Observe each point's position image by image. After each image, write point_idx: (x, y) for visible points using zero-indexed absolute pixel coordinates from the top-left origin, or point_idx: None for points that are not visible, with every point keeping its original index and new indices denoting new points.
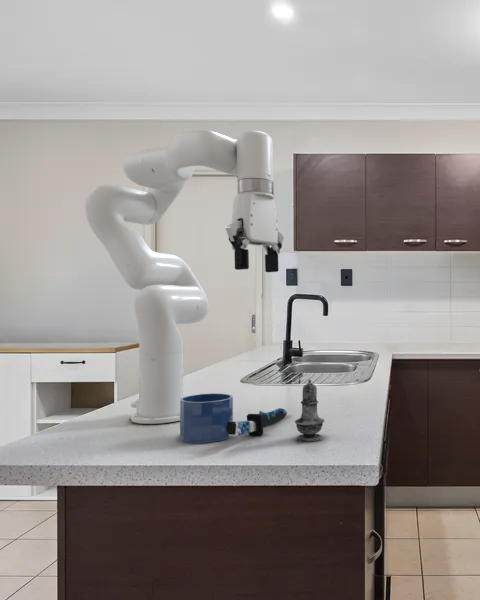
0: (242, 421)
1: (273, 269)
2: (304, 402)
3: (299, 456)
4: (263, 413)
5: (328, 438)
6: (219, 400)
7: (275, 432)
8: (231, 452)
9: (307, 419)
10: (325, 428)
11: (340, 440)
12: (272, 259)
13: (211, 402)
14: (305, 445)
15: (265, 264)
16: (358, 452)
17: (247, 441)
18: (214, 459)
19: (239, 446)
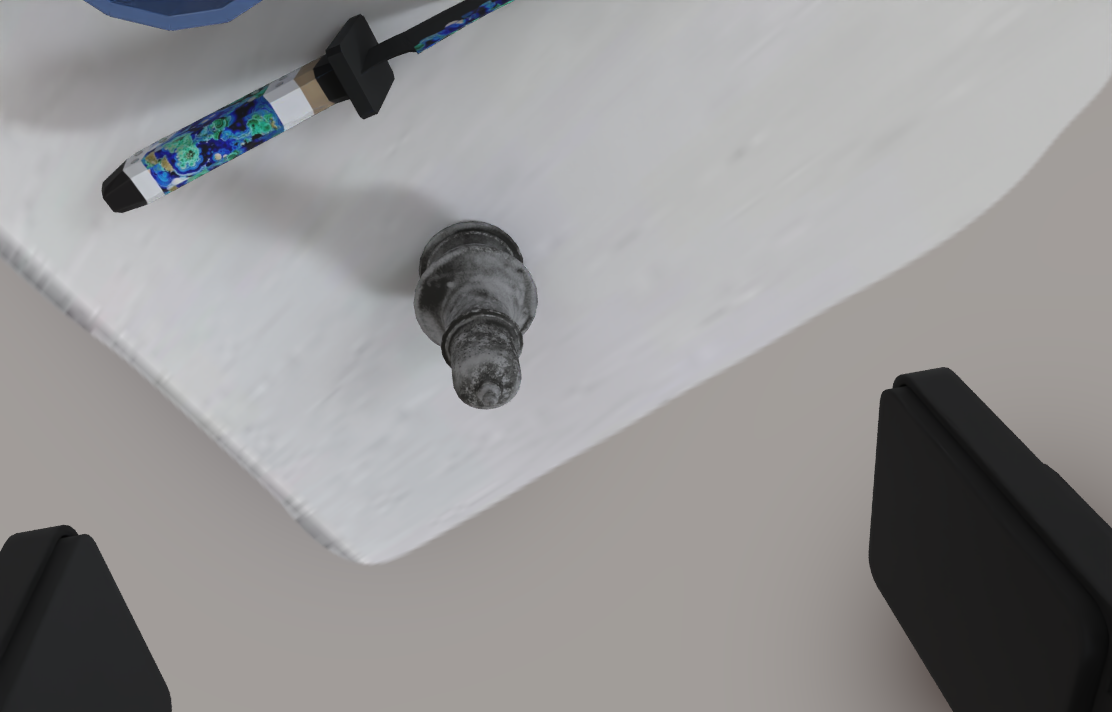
0: (219, 155)
1: (879, 550)
2: (446, 350)
3: (286, 388)
4: (454, 31)
5: None
6: (159, 17)
7: (465, 80)
8: None
9: (444, 327)
10: (635, 211)
11: None
12: (984, 681)
13: (104, 11)
14: (393, 318)
15: (947, 473)
16: (437, 486)
17: None
18: (43, 192)
19: None
